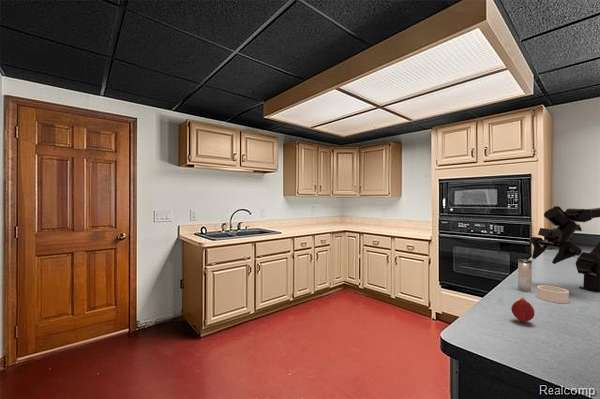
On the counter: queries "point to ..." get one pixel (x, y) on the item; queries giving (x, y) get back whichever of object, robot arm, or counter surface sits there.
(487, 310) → the counter surface
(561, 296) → the bowl
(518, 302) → the onion
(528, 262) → the canister
